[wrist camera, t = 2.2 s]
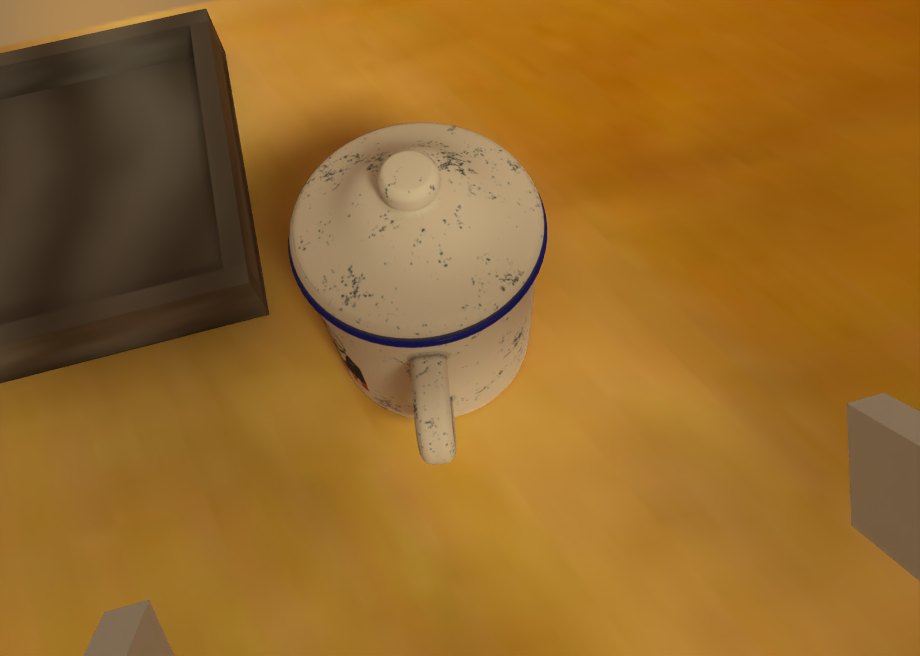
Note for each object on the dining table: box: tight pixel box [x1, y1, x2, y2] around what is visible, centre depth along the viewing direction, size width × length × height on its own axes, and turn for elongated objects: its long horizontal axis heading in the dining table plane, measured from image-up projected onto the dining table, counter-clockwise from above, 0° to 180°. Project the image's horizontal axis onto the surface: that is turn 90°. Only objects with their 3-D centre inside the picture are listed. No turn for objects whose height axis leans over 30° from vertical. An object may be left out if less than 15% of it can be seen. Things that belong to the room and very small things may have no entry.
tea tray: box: [0, 9, 269, 383], centre depth 35 cm, size 18×18×3 cm
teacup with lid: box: [288, 123, 547, 464], centre depth 26 cm, size 12×9×12 cm
